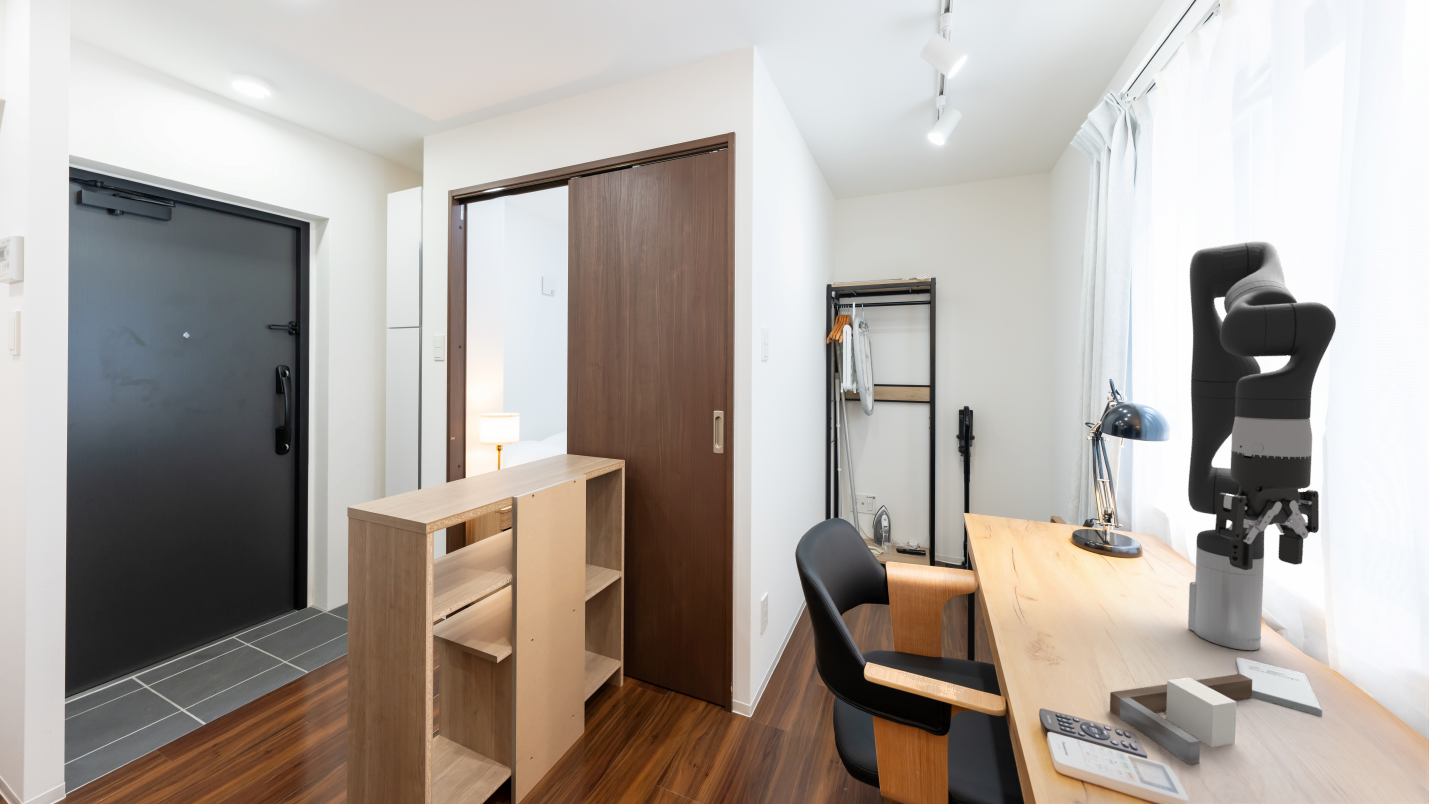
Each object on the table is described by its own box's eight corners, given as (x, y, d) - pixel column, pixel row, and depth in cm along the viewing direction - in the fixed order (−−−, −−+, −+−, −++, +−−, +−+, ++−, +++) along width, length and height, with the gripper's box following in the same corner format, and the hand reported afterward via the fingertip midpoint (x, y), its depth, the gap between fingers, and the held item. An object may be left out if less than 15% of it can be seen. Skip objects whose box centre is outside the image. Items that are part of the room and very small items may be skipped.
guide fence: (1109, 711, 78) (1110, 692, 78) (1239, 691, 83) (1240, 673, 83) (1189, 764, 67) (1190, 742, 67) (1333, 738, 72) (1334, 718, 72)
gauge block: (1166, 719, 77) (1167, 680, 76) (1187, 716, 77) (1189, 677, 77) (1211, 747, 71) (1213, 705, 70) (1234, 743, 71) (1236, 701, 71)
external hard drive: (1243, 697, 82) (1236, 664, 92) (1322, 719, 77) (1305, 682, 86) (1244, 687, 82) (1236, 655, 92) (1322, 708, 77) (1305, 672, 86)
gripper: (1277, 444, 76) (1273, 552, 77) (1197, 448, 73) (1194, 560, 74) (1347, 451, 68) (1342, 571, 69) (1261, 457, 66) (1256, 580, 67)
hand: (1265, 565), depth 72 cm, fingers open, 8 cm apart
